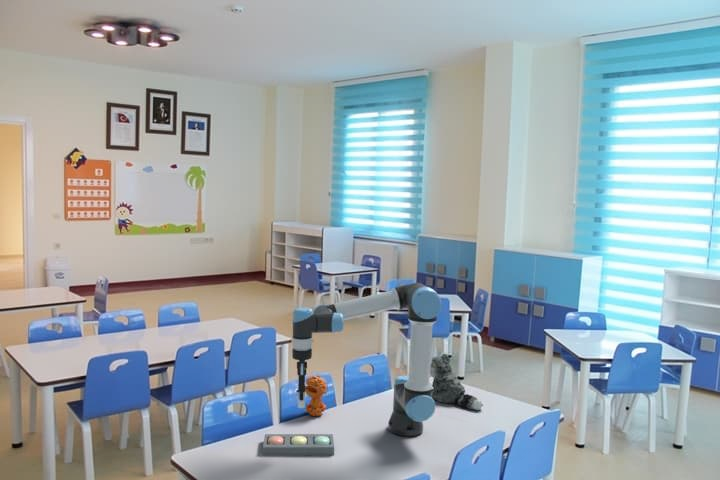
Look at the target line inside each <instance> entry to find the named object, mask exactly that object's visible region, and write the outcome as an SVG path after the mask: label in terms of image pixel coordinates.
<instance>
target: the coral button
mask: <svg viewBox="0 0 720 480" xmlns="http://www.w3.org/2000/svg"><path fill="white" fill-rule="evenodd" d="M283 441H284V439H283V438H282V437H280V436H272V437H270V438H268V444H283Z"/></svg>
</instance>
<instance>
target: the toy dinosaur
mask: <svg viewBox="0 0 720 480" xmlns="http://www.w3.org/2000/svg"><path fill="white" fill-rule="evenodd" d="M328 387H329V385H328V383H327V381H326V379H325V378H323V377H321V376H320V375H319V374H317V376H315V375H313V374H311V376H309V377H307V379H305V388H307V389H306V390H305V395H307V396H308V397H309V398H311V399H310V401H309V403H307V404H305V413H308V415H310V416H312V417H318V416H321V415H322V414H323V413H325V411H326V410H327V404H324V402H323V401H322V398H323V397H324V395H326V394H327V393H328Z"/></svg>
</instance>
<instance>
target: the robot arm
mask: <svg viewBox="0 0 720 480" xmlns="http://www.w3.org/2000/svg"><path fill="white" fill-rule="evenodd" d="M394 309H395V310H397V311H401V310H408V311H407V320H408V322H410V342H409V360H408V372H407V373H408V374H407V375H399V376H397V377H395V379H394V382H393V383H394V384H393V399H392V400H393V403H392V412H391V415H390V417H389V420H388V423H387V424H388V425H387V429H388V430H389V431H390V432H391V433H393V434H395V435H399V436H403V437H413V436H418V435H420V434H422V433H423V432H424V423H423V422H425V421H427V420H429V419H430V418H431V417H432V416H433V415H434V414H435V411H436V403H435V400H434V399H433V398H432V390H433V386H432V384H431V382H430V376H431V374H430V365H431V361H432V341H433V327H434V326H433V325H434V324H436V323H437V318H438V315H439V313H441V309H442V300H441V297H440V295H439V294H438V293H437V291H436V290H434V289H433V288H431V287H429V286H427V285H425V284H423V283H421V282H413V283H407V284H404V285H399V286H396V287H392V289H391V290H389V291H384V292H380V293H375V294H371V295H368V296H367V295H366V296H364V297H358V298H354V299H350V300H345V301H342V302H341V301H340V302H336V303H332V304H331V303H330V304H327V305H325V304H318V305H317V306H316V307H315V308H314V309H312V308H310V307H297V308H295V309H294V310H293V314H292V315H293V317H292V339H291V340H292V341H291V342H292V343H291V344H292V347H291V348H292V351H291V352H292V355H291V357H292V359H293V360H295V361H297V362H296V368H297V371H296V373H297V376H298V383H297V389H296V393H297V409H306V402H305V401H306V392H305V390H306V389H307V388H305V386H306V375H307V369H308V362H307V361H308V360H310V359H312V357H313V349H312V348H313V345H312V344H313V343H314V341H315V340H314V339H313V334H320V333H321V334H323V333H333V334H335V333H341V332H342V331H343V330H344V321H346V320H350V319H355V318H359V317H364V316H368V315H373V314H376V313H381V312H384V311H385V312H386V311H390V310H394Z"/></svg>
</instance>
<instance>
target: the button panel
mask: <svg viewBox="0 0 720 480" xmlns="http://www.w3.org/2000/svg"><path fill="white" fill-rule="evenodd" d="M272 436H280V437H282V438H283V439H284V441H283V444H268V438H270V437H272ZM295 436H303V437H305V438H306V439H307V444H291V439H292V438H293V437H295ZM318 436H325V437H328V438H329V439H330V442H329V444H314V439H315V438H316V437H318ZM334 441H335V440H334V434H332V433H329V434H328V433H327V434H326V433H323V434H321V433H315V434H314V433H308V434H306V433H299V434H298V433H297V434H296V433H295V434H293V433H280V434H279V433H265V434H264V438H263V445H262V455H263V456H264V455H265V456H268V455H271V456H272V455H273V456H274V455H275V456H277V455H278V456H283V455H284V456H309V455H310V456H334V455H335V442H334Z"/></svg>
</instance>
